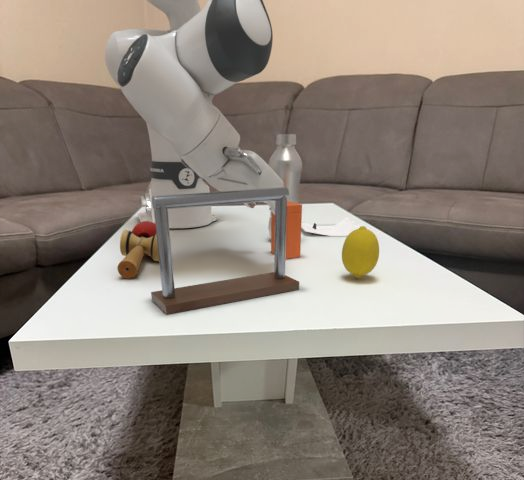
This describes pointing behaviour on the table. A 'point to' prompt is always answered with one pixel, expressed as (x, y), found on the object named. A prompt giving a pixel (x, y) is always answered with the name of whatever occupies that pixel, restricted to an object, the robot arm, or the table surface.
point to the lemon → (360, 252)
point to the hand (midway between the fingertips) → (266, 208)
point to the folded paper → (332, 228)
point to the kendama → (137, 247)
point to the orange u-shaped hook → (290, 230)
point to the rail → (226, 289)
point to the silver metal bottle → (287, 166)
